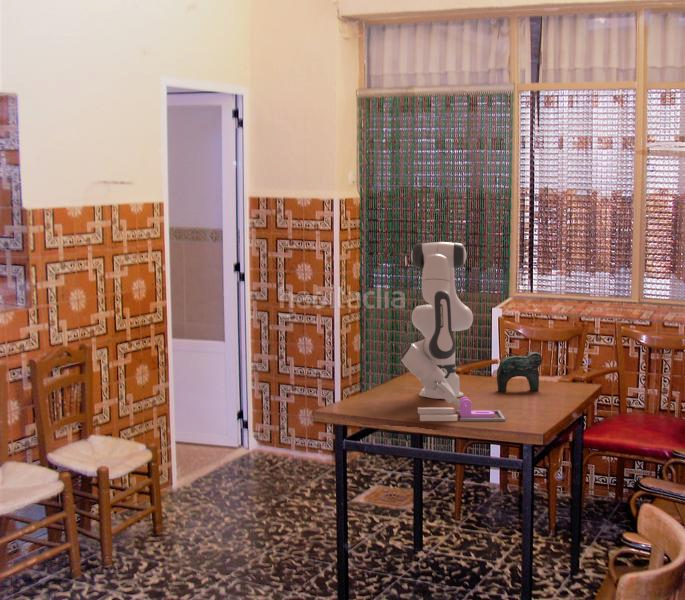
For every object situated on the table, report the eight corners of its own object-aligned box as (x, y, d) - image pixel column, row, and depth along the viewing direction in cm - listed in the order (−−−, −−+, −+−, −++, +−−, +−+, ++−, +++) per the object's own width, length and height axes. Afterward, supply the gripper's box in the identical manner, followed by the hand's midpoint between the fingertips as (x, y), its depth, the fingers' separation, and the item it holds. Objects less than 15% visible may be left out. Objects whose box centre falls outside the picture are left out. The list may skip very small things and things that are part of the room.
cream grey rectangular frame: (417, 412, 384) (417, 407, 384) (499, 412, 384) (499, 407, 383) (420, 421, 369) (420, 415, 369) (505, 421, 369) (505, 416, 369)
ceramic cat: (539, 389, 432) (540, 344, 430) (543, 391, 426) (544, 346, 424) (495, 390, 430) (495, 344, 428) (499, 393, 423) (499, 347, 421)
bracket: (461, 417, 375) (461, 399, 374) (459, 414, 381) (459, 396, 380) (495, 417, 375) (495, 399, 374) (493, 414, 381) (493, 396, 380)
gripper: (442, 378, 365) (468, 404, 365) (437, 368, 385) (462, 393, 386) (430, 390, 365) (456, 416, 366) (426, 380, 385) (451, 404, 386)
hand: (459, 404), depth 376 cm, fingers closed, pressing on bracket
